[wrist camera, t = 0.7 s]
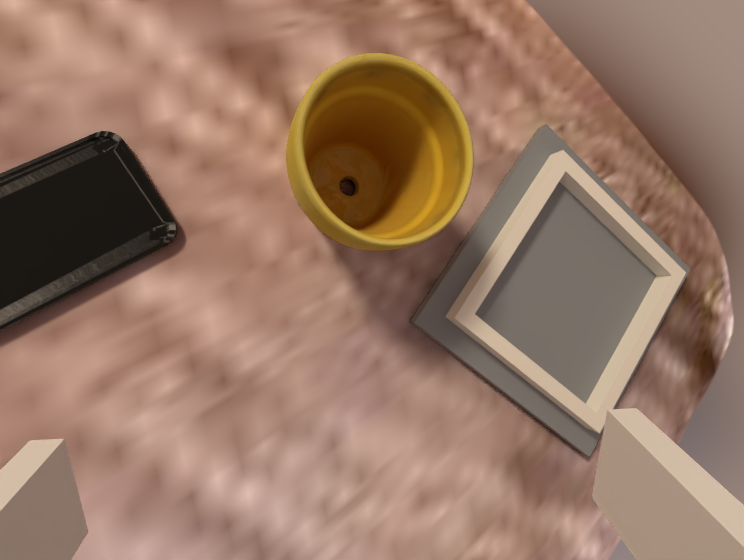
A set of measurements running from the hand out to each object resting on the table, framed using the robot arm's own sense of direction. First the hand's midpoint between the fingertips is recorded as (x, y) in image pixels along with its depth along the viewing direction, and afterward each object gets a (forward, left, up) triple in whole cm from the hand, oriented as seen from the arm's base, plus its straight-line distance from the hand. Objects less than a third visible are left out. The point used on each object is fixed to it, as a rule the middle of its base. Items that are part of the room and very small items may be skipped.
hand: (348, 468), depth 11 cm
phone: (-2, +16, -22) cm, 27 cm away
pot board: (+18, -17, -21) cm, 33 cm away
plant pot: (+13, +3, -21) cm, 25 cm away
